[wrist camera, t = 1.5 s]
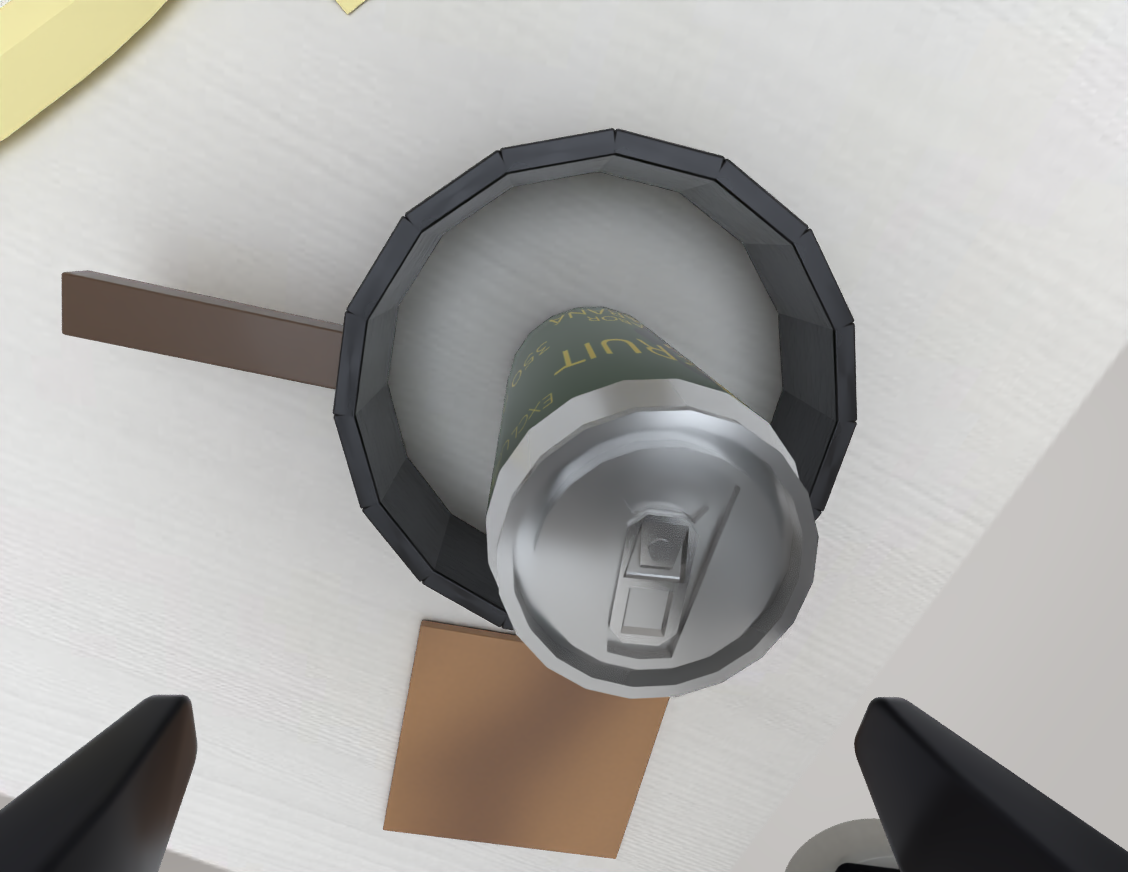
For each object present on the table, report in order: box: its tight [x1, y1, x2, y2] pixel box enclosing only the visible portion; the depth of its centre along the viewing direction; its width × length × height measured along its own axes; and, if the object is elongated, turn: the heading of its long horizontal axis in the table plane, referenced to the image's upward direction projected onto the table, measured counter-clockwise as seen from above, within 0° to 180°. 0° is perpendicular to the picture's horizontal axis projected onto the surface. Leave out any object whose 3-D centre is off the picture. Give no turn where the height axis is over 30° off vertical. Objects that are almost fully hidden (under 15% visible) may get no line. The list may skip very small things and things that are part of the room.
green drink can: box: [486, 307, 818, 699], centre depth 15 cm, size 5×5×12 cm
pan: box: [62, 128, 857, 630], centre depth 19 cm, size 21×14×4 cm
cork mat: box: [383, 620, 669, 859], centre depth 25 cm, size 10×10×1 cm
